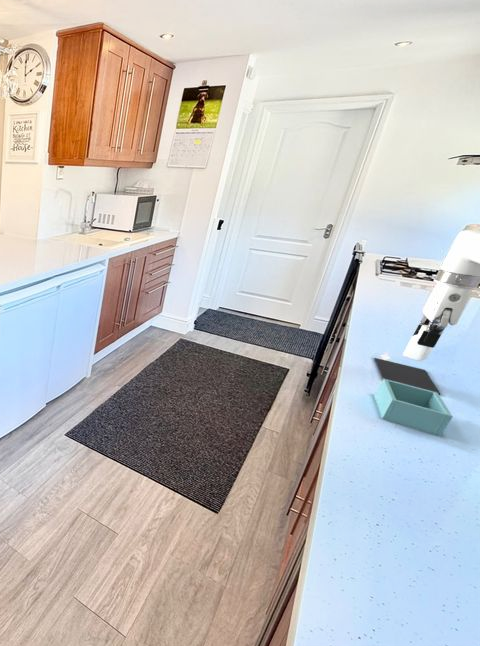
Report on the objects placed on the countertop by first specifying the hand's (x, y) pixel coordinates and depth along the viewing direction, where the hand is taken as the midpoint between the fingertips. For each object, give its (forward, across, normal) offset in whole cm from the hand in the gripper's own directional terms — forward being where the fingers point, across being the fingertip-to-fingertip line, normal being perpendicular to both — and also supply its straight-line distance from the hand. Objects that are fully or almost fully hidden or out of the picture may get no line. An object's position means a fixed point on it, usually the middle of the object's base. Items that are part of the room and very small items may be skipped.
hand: (422, 341), depth 110 cm
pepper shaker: (+5, 0, 0) cm, 5 cm away
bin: (+11, -28, +4) cm, 30 cm away
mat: (+11, 0, 0) cm, 11 cm away
